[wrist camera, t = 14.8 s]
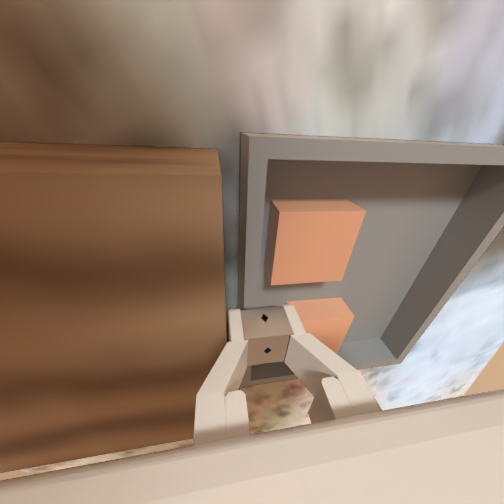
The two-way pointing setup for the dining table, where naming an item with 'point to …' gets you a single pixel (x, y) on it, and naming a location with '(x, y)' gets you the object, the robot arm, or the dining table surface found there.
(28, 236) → the brown wooden block
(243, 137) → the box
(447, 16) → the dining table surface
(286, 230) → the terracotta tile
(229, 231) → the dining table surface
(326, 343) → the terracotta tile
